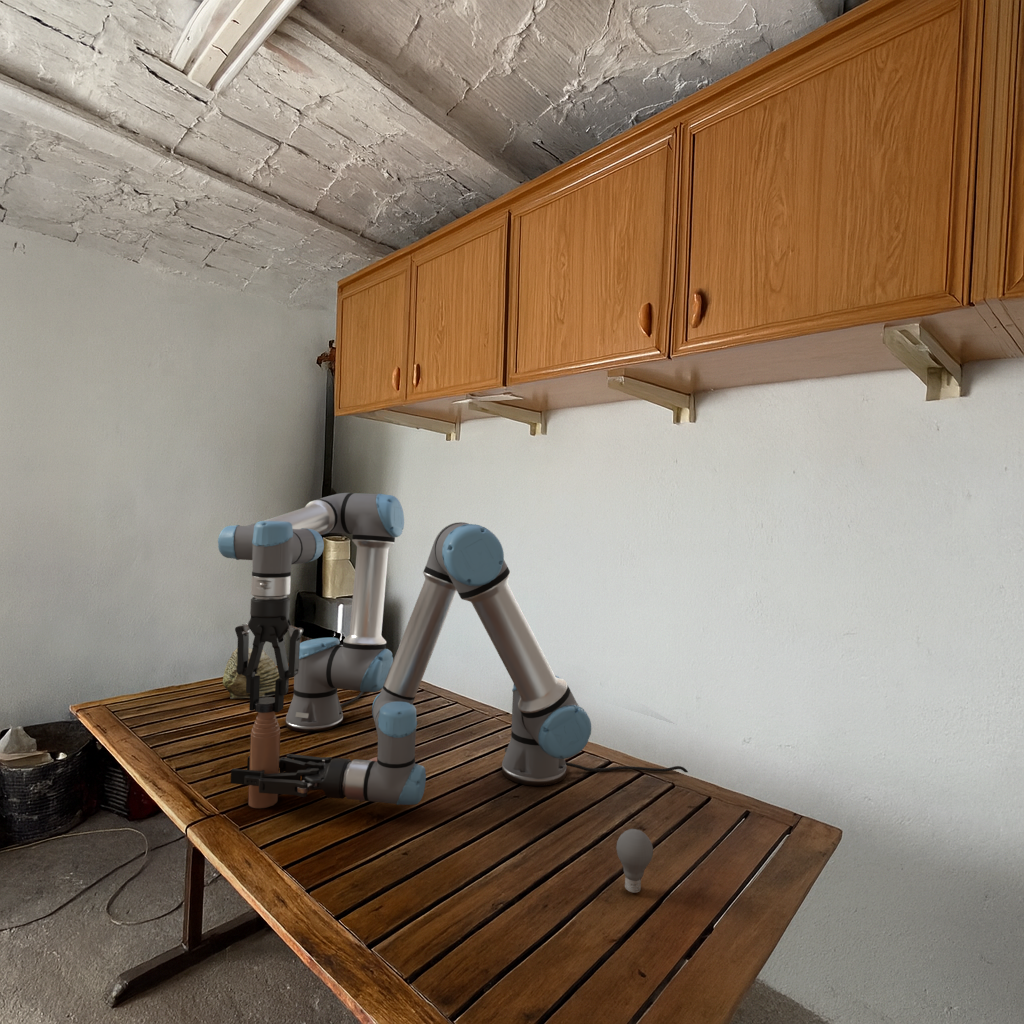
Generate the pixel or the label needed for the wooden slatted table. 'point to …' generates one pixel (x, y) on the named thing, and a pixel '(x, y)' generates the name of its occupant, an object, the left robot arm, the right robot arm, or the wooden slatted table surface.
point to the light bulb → (634, 857)
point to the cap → (265, 705)
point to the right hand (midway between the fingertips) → (240, 769)
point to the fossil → (265, 671)
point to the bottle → (264, 756)
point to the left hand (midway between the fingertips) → (266, 709)
